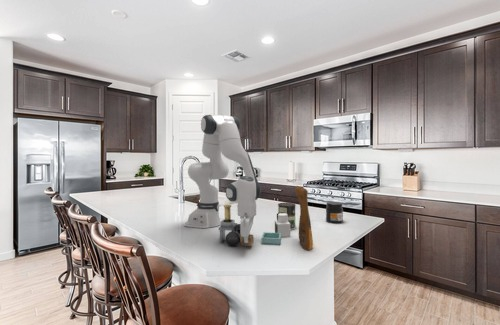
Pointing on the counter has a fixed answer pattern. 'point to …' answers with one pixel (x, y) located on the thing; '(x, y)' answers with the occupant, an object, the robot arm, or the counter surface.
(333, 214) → the supplement container
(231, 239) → the trolley
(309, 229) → the brown wooden upright piece
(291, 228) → the coffee can
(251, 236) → the chock
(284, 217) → the medicine bottle
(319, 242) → the counter surface
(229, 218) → the pin
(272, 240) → the tray
